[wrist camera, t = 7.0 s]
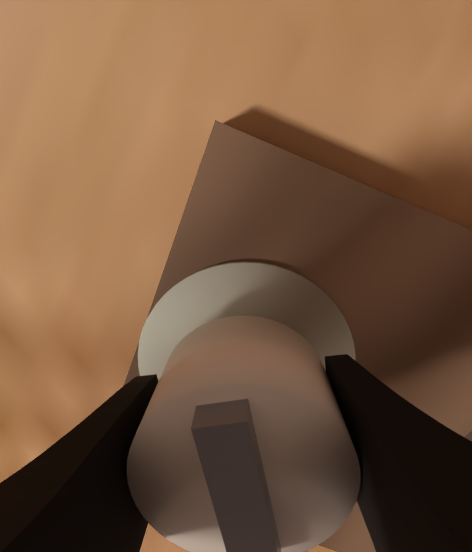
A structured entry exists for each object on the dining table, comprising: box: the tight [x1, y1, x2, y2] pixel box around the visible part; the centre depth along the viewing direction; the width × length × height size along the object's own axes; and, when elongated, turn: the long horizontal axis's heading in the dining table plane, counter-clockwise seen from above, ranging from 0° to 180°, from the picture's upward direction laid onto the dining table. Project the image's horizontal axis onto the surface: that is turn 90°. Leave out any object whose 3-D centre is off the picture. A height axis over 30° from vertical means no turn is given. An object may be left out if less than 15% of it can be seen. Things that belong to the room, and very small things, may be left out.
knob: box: [127, 316, 360, 552], centre depth 8 cm, size 5×5×4 cm
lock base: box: [124, 120, 472, 552], centre depth 11 cm, size 17×13×3 cm
